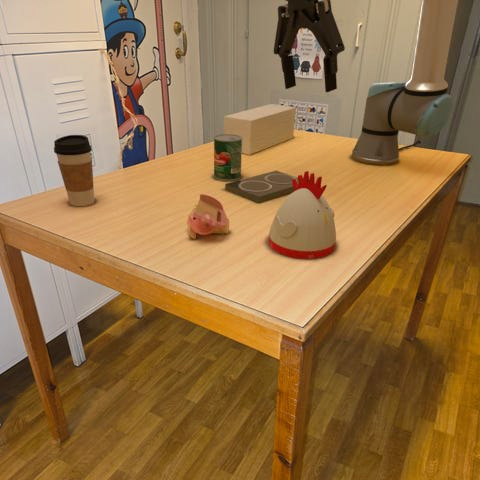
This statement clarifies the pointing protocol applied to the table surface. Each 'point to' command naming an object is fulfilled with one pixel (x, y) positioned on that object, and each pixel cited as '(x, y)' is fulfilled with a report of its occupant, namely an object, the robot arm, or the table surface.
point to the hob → (263, 186)
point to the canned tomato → (227, 157)
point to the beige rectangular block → (261, 126)
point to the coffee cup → (76, 168)
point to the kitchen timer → (304, 222)
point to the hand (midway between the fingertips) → (310, 89)
